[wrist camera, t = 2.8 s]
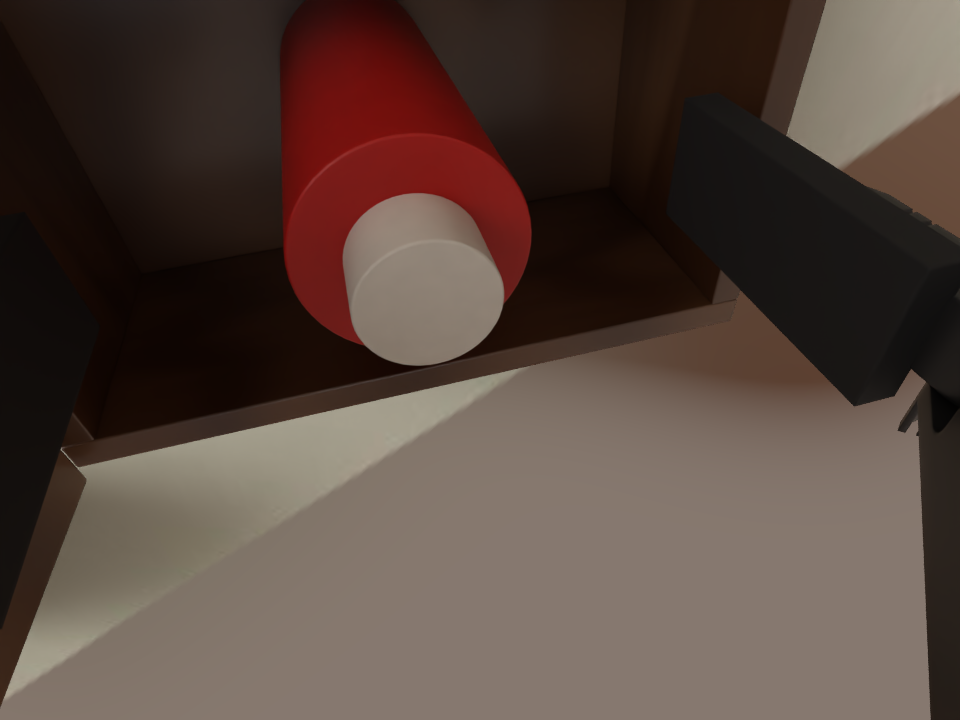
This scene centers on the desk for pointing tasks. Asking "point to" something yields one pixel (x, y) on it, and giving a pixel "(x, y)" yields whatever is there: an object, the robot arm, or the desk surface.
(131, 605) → the desk surface
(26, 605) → the lid
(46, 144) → the storage box
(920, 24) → the desk surface
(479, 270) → the bottle
